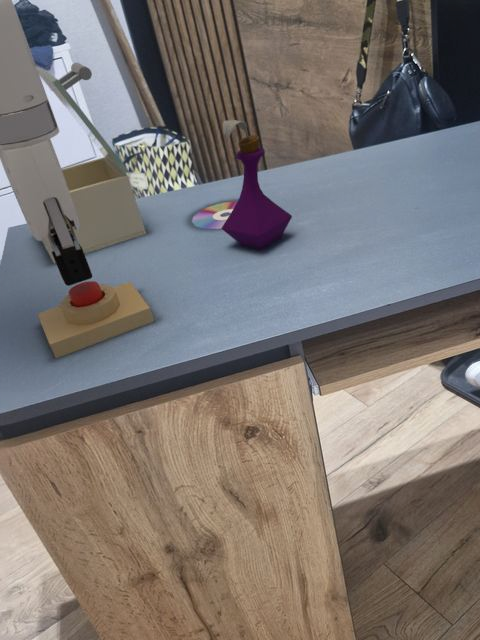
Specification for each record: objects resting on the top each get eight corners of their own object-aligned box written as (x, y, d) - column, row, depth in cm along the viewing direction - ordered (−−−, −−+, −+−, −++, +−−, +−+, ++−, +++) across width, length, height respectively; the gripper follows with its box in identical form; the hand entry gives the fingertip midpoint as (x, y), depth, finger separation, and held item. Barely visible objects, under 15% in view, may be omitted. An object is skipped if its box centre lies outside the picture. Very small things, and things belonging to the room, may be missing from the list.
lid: (52, 82, 87) (86, 58, 88) (36, 70, 97) (66, 49, 98) (124, 174, 97) (154, 152, 98) (103, 155, 107) (130, 135, 108)
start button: (77, 311, 76) (71, 299, 75) (71, 300, 79) (65, 288, 78) (106, 301, 78) (102, 288, 77) (99, 290, 80) (95, 278, 79)
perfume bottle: (259, 228, 100) (234, 109, 89) (296, 236, 96) (274, 112, 85) (225, 248, 95) (195, 125, 85) (263, 257, 91) (235, 129, 81)
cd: (267, 200, 109) (267, 199, 109) (247, 228, 100) (247, 227, 100) (206, 202, 111) (205, 202, 111) (181, 230, 102) (181, 230, 102)
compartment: (54, 264, 97) (28, 204, 92) (39, 237, 107) (15, 181, 102) (146, 234, 103) (127, 175, 97) (124, 211, 113) (106, 156, 107)
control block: (56, 359, 75) (43, 331, 73) (43, 328, 82) (31, 301, 79) (155, 322, 79) (145, 294, 77) (135, 295, 86) (126, 269, 84)
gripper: (-29, 120, 70) (36, 268, 81) (-14, 149, 60) (58, 316, 70) (42, 104, 73) (95, 249, 84) (68, 130, 62) (125, 292, 73)
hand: (78, 279), depth 77 cm, fingers closed
